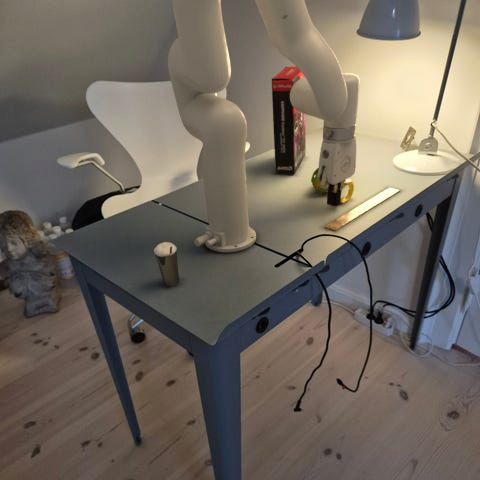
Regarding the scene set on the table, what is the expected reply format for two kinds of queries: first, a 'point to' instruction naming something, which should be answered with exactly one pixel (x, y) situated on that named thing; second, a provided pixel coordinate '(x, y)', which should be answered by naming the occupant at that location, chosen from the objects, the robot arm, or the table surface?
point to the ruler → (361, 209)
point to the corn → (317, 182)
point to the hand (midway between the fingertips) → (333, 204)
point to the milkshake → (167, 263)
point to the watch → (350, 192)
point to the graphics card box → (287, 123)
